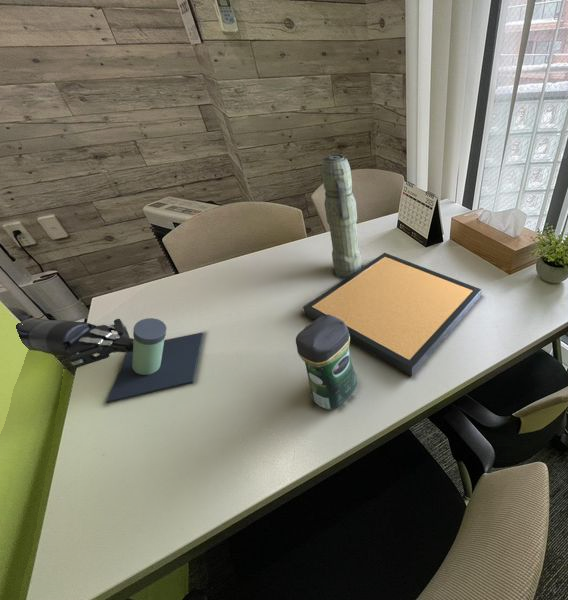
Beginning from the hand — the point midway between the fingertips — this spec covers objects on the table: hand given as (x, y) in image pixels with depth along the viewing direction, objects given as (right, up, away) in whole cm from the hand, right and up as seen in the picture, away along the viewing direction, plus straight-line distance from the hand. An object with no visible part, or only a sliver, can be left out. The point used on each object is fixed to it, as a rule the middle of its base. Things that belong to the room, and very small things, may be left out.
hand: (133, 345), depth 69 cm
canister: (0, -5, +4) cm, 6 cm away
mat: (+1, -5, +6) cm, 8 cm away
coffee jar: (+42, -10, +1) cm, 44 cm away
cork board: (+55, +8, +23) cm, 60 cm away
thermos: (+40, +19, +37) cm, 57 cm away
